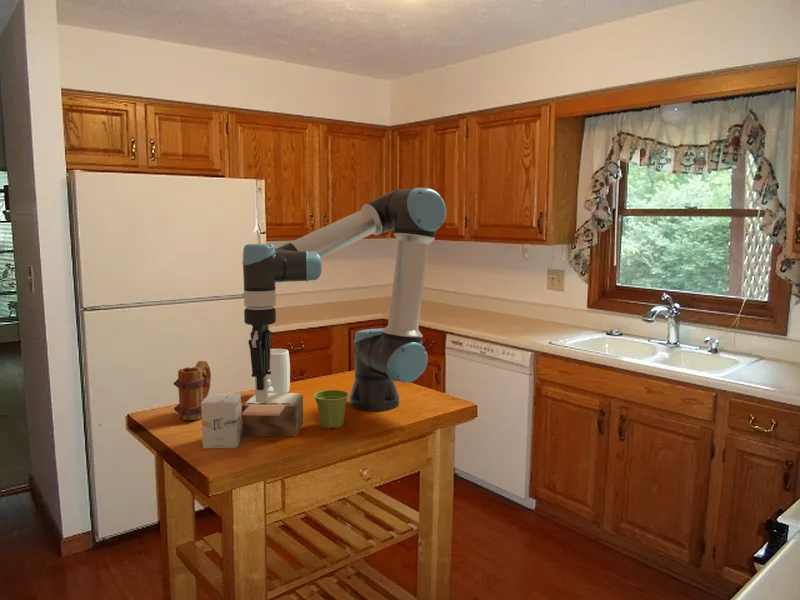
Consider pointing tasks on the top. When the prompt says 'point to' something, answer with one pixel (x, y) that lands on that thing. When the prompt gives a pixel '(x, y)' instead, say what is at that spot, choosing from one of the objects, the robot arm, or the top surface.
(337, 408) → the plant pot
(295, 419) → the block
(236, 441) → the ink box
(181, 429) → the top surface
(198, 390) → the mug
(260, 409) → the panel
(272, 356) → the cup
